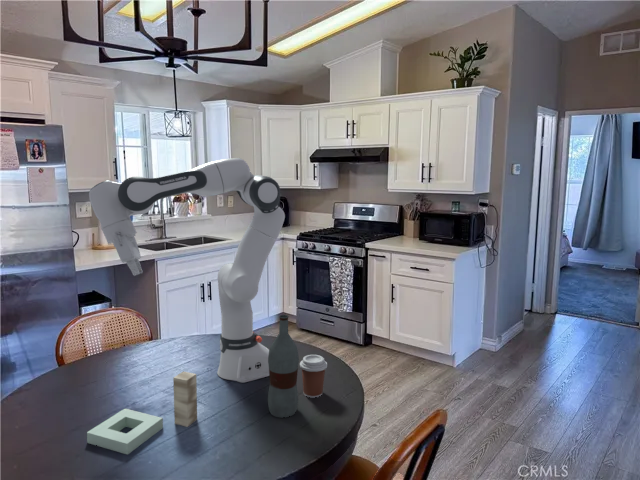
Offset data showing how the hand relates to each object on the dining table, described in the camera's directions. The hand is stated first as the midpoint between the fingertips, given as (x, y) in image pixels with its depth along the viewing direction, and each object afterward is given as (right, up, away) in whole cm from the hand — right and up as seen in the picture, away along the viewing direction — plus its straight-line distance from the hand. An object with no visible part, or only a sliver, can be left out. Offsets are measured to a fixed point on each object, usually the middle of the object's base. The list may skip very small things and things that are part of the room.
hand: (138, 274), depth 143 cm
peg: (+18, -42, -9) cm, 47 cm away
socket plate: (+3, -43, -17) cm, 46 cm away
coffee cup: (+54, -40, +9) cm, 68 cm away
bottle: (+45, -42, -2) cm, 61 cm away
